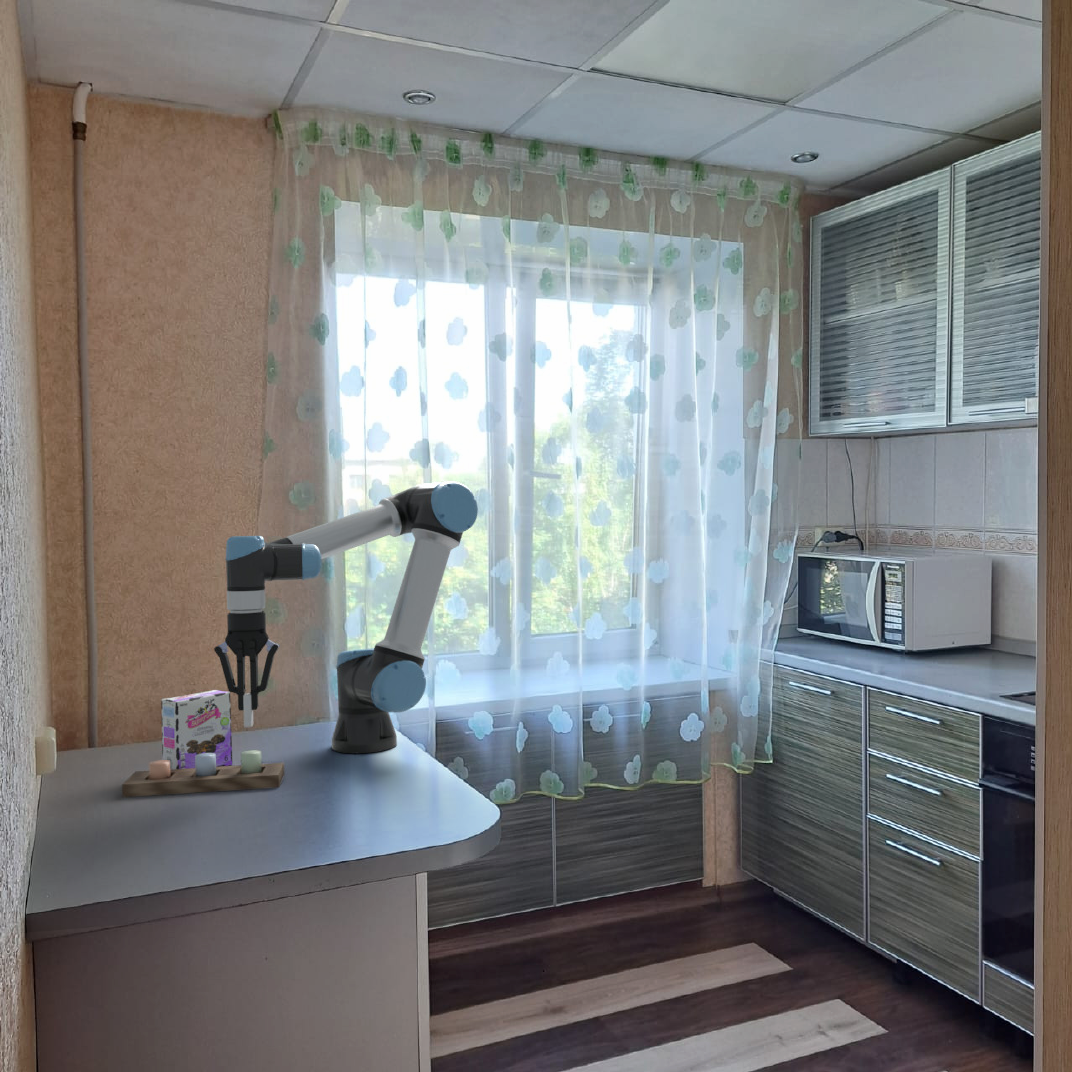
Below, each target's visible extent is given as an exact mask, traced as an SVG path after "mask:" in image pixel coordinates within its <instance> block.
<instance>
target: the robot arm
mask: <svg viewBox="0 0 1072 1072" xmlns="http://www.w3.org/2000/svg"><path fill="white" fill-rule="evenodd" d="M478 509H479V508H478V502H477V499H476V497H475V495H474V493H473V492H472V490H471V489H470V488H469V487H468V486H466V485H464V484H463V483H461V482H457V481H450V480H448V481H447V480H445V481H441V482H431V483H429V482H428V483H421V484H416V485H414V486H412V487H408V488H407V489H405V490H402V491H399V492H397V493H396V494H393V495H391V496H388V497H385V498H382V499H381V500H380V501H379V503H378V505H375V506H372V507H370V508H366V509H363V510H361V511H358V512H355V513H352V514H349V515H346V516H343V517H340V518H337V519H334V520H332V521H328V522H326V523H321V524H320V525H317V526H314V527H311V528H308V529H305V530H303V531H300V532H297V533H294V534H291V535H288V536H285V537H283V538H279V539H276V540H274V541H271V542H265V539H264V537H263V536H262V535H243V536H242V535H240V536H239V535H236V536H234V535H233V536H230V537H228V538H227V540H226V547H225V559H224V560H225V566H226V570H225V571H226V609H227V611H230V612H228V613H227V615H226V617H227V618H226V619H227V625H226V626H227V635H226V636H225V638H224V641H223V642H222V643H220V644H218V645H217V646H215V647H214V649H213V650H214V652H215V654H216V655H217V657H219V661H220V663H221V667H222V668H221V669H222V671H223V675H224V679H225V681H226V682H225V683H226V686H227V690H228V692H230V693H233V694H236V695H237V709H238V711H243V728H252V727H253V725H254V711H256V710H258V708H259V693H262V692H264V691H266V689H267V688H268V685H269V681H270V676H271V672H272V666H273V662H274V658H275V654H276V653H277V651H278V650H279V648H280V644H279V643H277V642H273V640H270V639H269V635H268V634H267V627H266V626H267V625H266V624H267V623H266V612H265V611H263V610H264V609H265V608H266V586H265V585H266V582H270V581H291V580H292V581H298V580H302V581H305V580H312V579H315V578H317V577H318V576H319V574H320V573H321V571H322V560H323V559H327V558H329V557H332V556H335V555H338V554H340V553H344V552H345V551H348V550H352V549H354V548H357V547H359V546H362V545H365V544H368V543H371V542H374V541H376V540H379V539H382V538H384V537H387V536H391V537H393V538H396V537H397V538H398V537H400V536H402V535H406V534H412V536H413V537H414V543H413V546H412V549H411V552H410V556H409V559H408V562H407V565H406V569H405V571H404V575H403V577H402V581H401V583H400V587H399V590H398V593H397V597H396V600H395V604H394V607H393V610H392V613H391V616H390V620H389V623H388V627H387V629H386V632H385V636H384V638H383V639H382V640H381V641H378V642H377V643H375V645H374V647H372V648H364V649H363V648H362V649H353V650H344V651H341V652H339V653H338V655H337V658H336V667H335V669H336V678H337V680H336V681H337V706H338V710H337V711H338V716H337V720H336V723H335V726H334V730H333V733H332V737H331V749H332V750H333V751H334V752H339V753H343V754H370V753H378V752H382V751H386V750H390V749H392V748H394V747H396V746H397V744H398V739H397V736H398V735H397V732H396V730H395V727H394V725H393V724H394V723H393V721H392V719H391V716H390V713H403V712H406V711H407V712H408V710H410V709H412V708H414V707H415V706H416V705H417V704H418V703H419V702H420V701H421V700H422V698H423V696H424V694H425V691H426V686H427V679H426V676H425V673H424V670H423V666H424V663H425V660H426V658H425V656H424V654H423V652H422V646H423V643H424V639H425V637H426V633H427V630H428V627H429V623H430V620H431V616H432V613H433V609H434V607H435V603H436V601H437V600H436V599H437V597H438V595H439V591H440V586H441V583H442V580H443V577H444V574H445V570H446V567H447V563H448V560H449V557H450V554H451V552H452V550H454V549H455V548H457V547H459V546H460V544H461V542H462V541H461V540H462V538H463V534H464V532H466V531H468V530H470V529H471V528H472V527H473V526H474V524H475V523H476V521H477V517H478V511H479V510H478ZM265 646H266V652H267V655H266V658H265V662H264V668H263V672H262V676H261V680H260V684H259V661H258V660H259V654H260V653H261V652H262V650H263V649H264V648H265ZM228 648H229V649H228ZM229 650H231V651H232V653H233V654H234V655H235V656H236V658H235V659H236V679H237V681H235V677H234V673H233V669H232V667H231V662H230V660H229V659H230V658H229V656H228V651H229ZM246 657H249V673H250V674H249V675H250V676H249V677H250V692H247V693H246V691H247V689H246ZM236 682H237V683H236Z"/></svg>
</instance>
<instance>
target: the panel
mask: <svg viewBox="0 0 1072 1072" xmlns="http://www.w3.org/2000/svg"><path fill="white" fill-rule="evenodd" d="M261 767H262V771H261V772H260V773H251V774H242V773H241V764H240V765H228V766H221V767H216V775H214V776H201V777H196V768H187V769H170V774H171V778H168V779H152V780H150V779H149V770H141V771H140V770H139V771H134V772H133V773H132V774H131V775H130V776H129V777H128V778H127V779H126V780H125V781H124V782H123V783H122V785H121V787H122V789H121V790H122V794H121V795H122V798H130V797H144V796H145V797H146V796H161V795H176V794H177V795H178V794H191V793H192V794H193V793H194V794H195V793H207V792H210V793H211V792H222V791H223V792H225V791H241V790H243V791H244V790H258V789H271V788H272V789H273V788H280V786H281V784H282V782H283V779H284V777H285V775H286V773H285V762H274V763H272V762H271V763H261Z"/></svg>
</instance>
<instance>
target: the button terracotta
mask: <svg viewBox="0 0 1072 1072" xmlns="http://www.w3.org/2000/svg"><path fill="white" fill-rule="evenodd" d="M148 771H149V779H150V780H152V779H168V778H171V774H170V761H169V760H163V759H159V760H153V761H150V762H149V763H148Z"/></svg>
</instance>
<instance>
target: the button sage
mask: <svg viewBox="0 0 1072 1072" xmlns="http://www.w3.org/2000/svg"><path fill="white" fill-rule="evenodd" d="M261 764H262V751H261V750H255V749H254V750H253V749H251V750H245V751H241V753H240V765H241V773H242V774H251V773H260V772H261V771H262V767H261Z"/></svg>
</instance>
